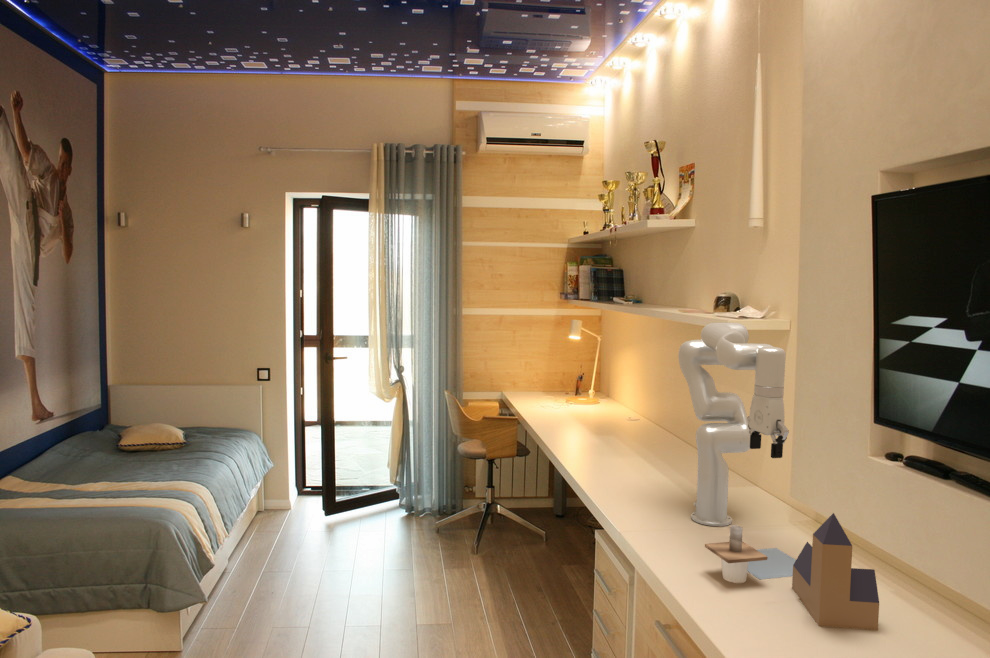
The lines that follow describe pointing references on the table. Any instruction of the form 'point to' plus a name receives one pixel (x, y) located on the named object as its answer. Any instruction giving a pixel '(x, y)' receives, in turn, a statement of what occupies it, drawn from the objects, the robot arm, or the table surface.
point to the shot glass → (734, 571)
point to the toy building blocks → (835, 581)
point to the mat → (772, 565)
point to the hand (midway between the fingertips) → (765, 453)
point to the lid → (735, 548)
